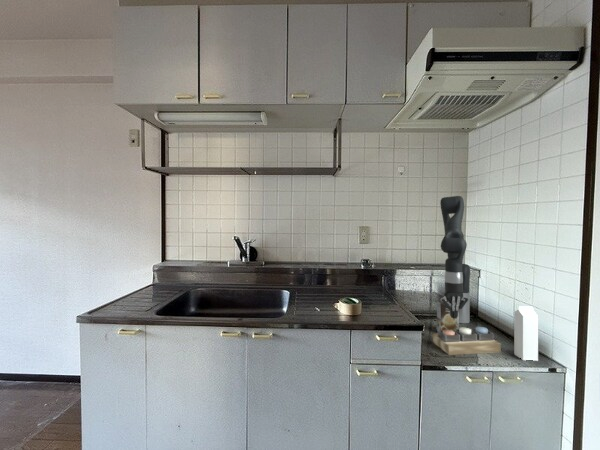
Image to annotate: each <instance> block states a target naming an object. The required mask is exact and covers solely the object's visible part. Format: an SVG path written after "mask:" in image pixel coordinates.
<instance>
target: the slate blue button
mask: <svg viewBox="0 0 600 450" xmlns="http://www.w3.org/2000/svg"><path fill="white" fill-rule="evenodd" d="M474 329H475V331H476V332H477V333H479V334H488V331H489V330H488V328H487V327H483V326H475V327H474Z"/></svg>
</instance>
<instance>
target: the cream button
mask: <svg viewBox="0 0 600 450" xmlns="http://www.w3.org/2000/svg"><path fill="white" fill-rule="evenodd" d="M471 329H472V328H469V327H465V326H464V327H463V326H462V327H460V326H459V332H460V333H461V334H463V335H466V334H471Z"/></svg>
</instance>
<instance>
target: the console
mask: <svg viewBox="0 0 600 450" xmlns="http://www.w3.org/2000/svg"><path fill="white" fill-rule="evenodd" d="M470 329H471V334H466V335H463V334H461V333H460V332H459V329H457V330H454V331H453V330H451V331H453V332H455V335H445V334H443V330H438V331H437V333H432V343H433V344H434V345H435V346H437V347H438V348H440V349H441V351H443V352H445V353H446V354H447V355H449V356H451V355H452V356H453V355H474V354H475V355H476V354H477V355H478V354H494V353H495V354H497V353H499V354H500V353H502V349H501V348H502V343H501V342H499V341H497V340H496V339H494V337H495V336H494V335H495V334H494V333H493V332H491V331H489V330H488V334H479V333H477V332H476V331H475V328H470Z"/></svg>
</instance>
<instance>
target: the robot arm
mask: <svg viewBox="0 0 600 450" xmlns="http://www.w3.org/2000/svg"><path fill="white" fill-rule="evenodd" d="M440 210H441V215H442V221H443V227H444V237H442V240H441V242H440V250H441V251H442V252H443V253H445V254H447V258H446V259H445V261H444V263H445V265H444V268H445V272H444V293H443V297H440V298H439V300H440V301H441V302H442V303H443V304H444V306H445V307H446V308H448V309H449V310H450V316H451V317H452V318H453V319H457V317H458V310H459V324H469V323H471V322H470V321H471V320H470V313H471V312H470V311H471V310H470V306H471V305H470V283H471V282H470V279H471V267H470V265H469V264H466V263H464V264H463V260H464V257H465V253H466V250H467V245H468V244H467V241H466V240H465V237H464V233H463V231H462V230H463V229H462V225H463V224H462V223H463V218H464V212H465V201H464V198H463V197H462V196H461V195H455V196H454V195H453V196H444V197H441V199H440ZM450 215H452V216H450ZM446 301H448V303H449V305H448V303H447V302H446Z"/></svg>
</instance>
